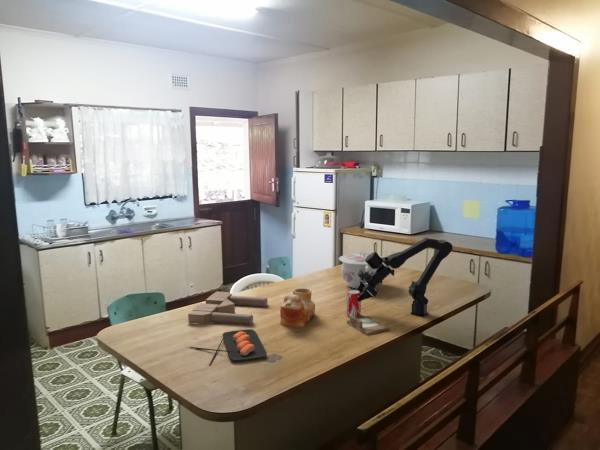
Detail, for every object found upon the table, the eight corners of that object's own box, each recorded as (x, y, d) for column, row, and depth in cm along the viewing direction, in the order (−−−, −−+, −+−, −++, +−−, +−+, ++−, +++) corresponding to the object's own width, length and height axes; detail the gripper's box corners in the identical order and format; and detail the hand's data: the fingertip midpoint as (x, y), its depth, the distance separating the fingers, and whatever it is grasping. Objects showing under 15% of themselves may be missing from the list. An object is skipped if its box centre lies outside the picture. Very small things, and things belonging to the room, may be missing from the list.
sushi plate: (268, 360, 180) (268, 351, 179) (189, 371, 172) (188, 361, 171) (254, 332, 207) (254, 324, 207) (185, 340, 199) (184, 332, 198)
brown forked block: (188, 324, 218) (248, 329, 212) (188, 313, 217) (248, 317, 211) (216, 300, 251) (268, 303, 245) (216, 290, 250) (268, 293, 245)
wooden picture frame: (346, 323, 216) (346, 314, 215) (367, 318, 222) (368, 310, 221) (366, 335, 202) (366, 326, 201) (388, 330, 207) (389, 321, 207)
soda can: (356, 318, 221) (357, 294, 219) (343, 316, 225) (343, 292, 223) (363, 314, 227) (363, 290, 225) (350, 311, 231) (350, 288, 229)
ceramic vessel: (272, 328, 211) (272, 296, 208) (293, 309, 235) (293, 281, 232) (301, 332, 206) (301, 300, 203) (319, 312, 230) (319, 283, 228)
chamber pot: (353, 277, 292) (353, 245, 289) (393, 284, 277) (394, 250, 273) (329, 288, 270) (329, 253, 267) (371, 296, 254) (372, 259, 251)
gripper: (364, 259, 231) (342, 281, 233) (371, 269, 213) (347, 292, 214) (379, 274, 233) (357, 295, 234) (387, 285, 215) (363, 308, 216)
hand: (356, 297), depth 225 cm, fingers open, 9 cm apart
